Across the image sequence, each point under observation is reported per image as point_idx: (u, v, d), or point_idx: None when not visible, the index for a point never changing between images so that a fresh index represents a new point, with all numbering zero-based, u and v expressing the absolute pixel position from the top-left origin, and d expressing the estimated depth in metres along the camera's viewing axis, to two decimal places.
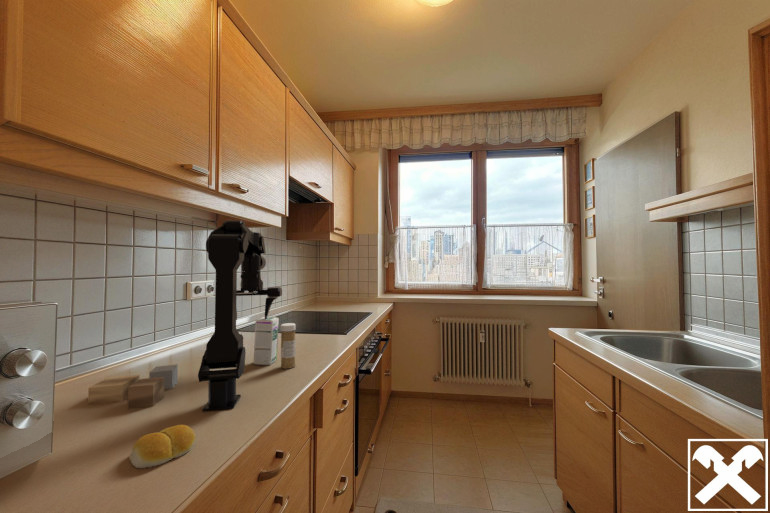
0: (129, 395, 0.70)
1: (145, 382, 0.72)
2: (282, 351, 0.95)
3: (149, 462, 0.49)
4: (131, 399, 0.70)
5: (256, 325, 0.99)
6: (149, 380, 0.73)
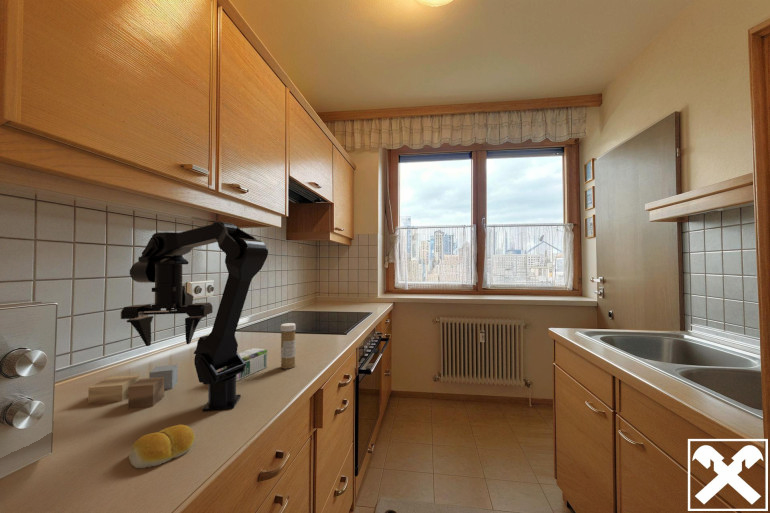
0: (129, 395, 0.70)
1: (145, 382, 0.72)
2: (282, 351, 0.95)
3: (149, 462, 0.49)
4: (131, 399, 0.70)
5: None
6: (149, 380, 0.74)
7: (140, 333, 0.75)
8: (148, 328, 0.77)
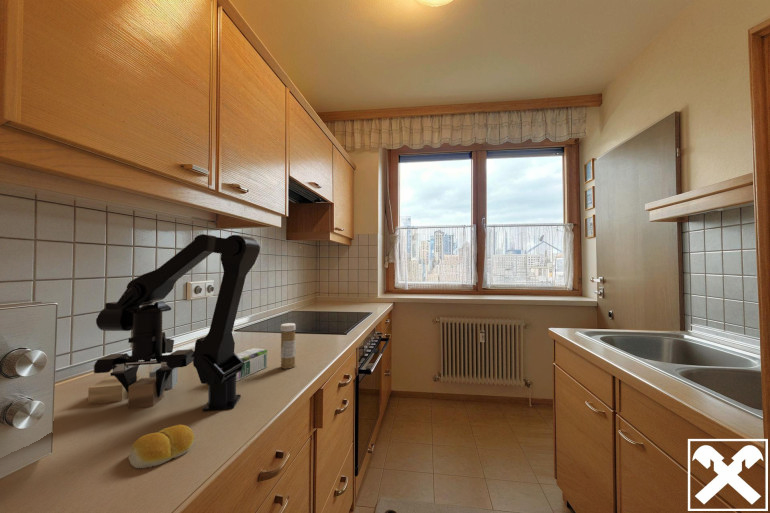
0: (129, 395, 0.70)
1: (145, 381, 0.72)
2: (282, 351, 0.95)
3: (148, 462, 0.48)
4: (131, 399, 0.70)
5: None
6: (149, 380, 0.74)
7: (125, 386, 0.70)
8: (134, 379, 0.73)
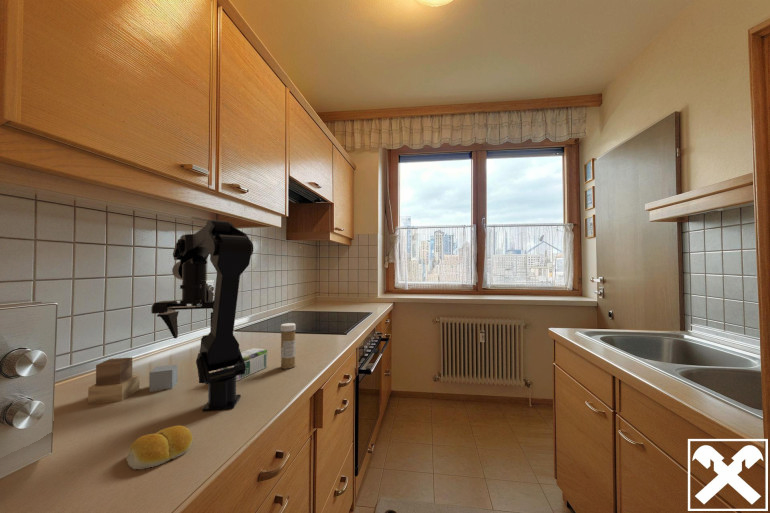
0: (97, 373, 0.74)
1: (113, 361, 0.76)
2: (282, 351, 0.95)
3: (146, 463, 0.48)
4: (99, 377, 0.74)
5: None
6: (117, 360, 0.77)
7: (169, 326, 0.82)
8: (175, 322, 0.84)
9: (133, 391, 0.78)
